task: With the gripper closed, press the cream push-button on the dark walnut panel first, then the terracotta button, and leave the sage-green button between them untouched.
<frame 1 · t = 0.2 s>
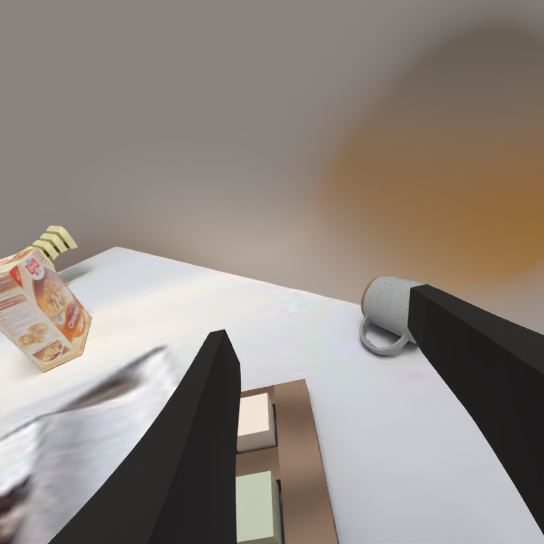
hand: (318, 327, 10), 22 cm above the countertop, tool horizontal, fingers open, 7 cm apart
slatted lounge chair: (41, 294, 83), on the countertop
ceramic mug: (395, 332, 36), on the countertop
coffeecake box: (71, 342, 54), on the countertop
cream button: (253, 422, 26), point 4 cm above the countertop, slide at 0.0 cm
sage button: (252, 512, 20), point 4 cm above the countertop, slide at 0.0 cm
button panel: (264, 527, 21), on the countertop
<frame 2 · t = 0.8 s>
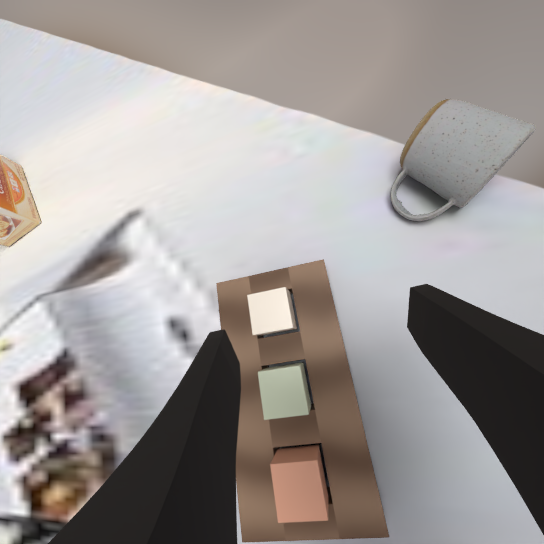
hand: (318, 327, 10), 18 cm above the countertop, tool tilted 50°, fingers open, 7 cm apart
ceramic mug: (434, 186, 28), on the countertop
coffeecake box: (17, 204, 43), on the countertop
cream button: (272, 312, 25), point 4 cm above the countertop, slide at 0.0 cm
sage button: (285, 389, 23), point 4 cm above the countertop, slide at 0.0 cm
button panel: (290, 382, 26), on the countertop
terracotta button: (300, 480, 21), point 4 cm above the countertop, slide at 0.0 cm
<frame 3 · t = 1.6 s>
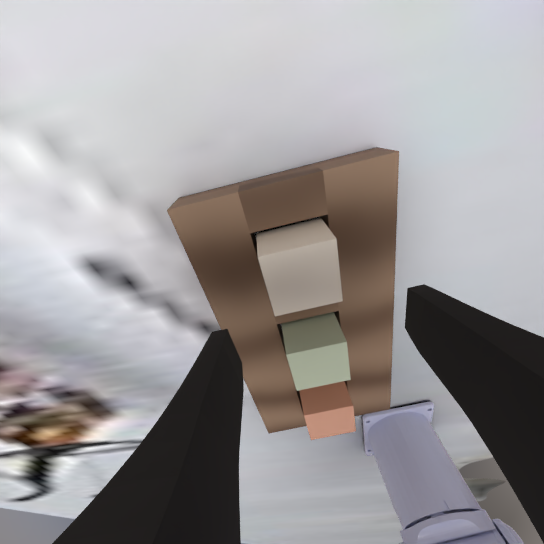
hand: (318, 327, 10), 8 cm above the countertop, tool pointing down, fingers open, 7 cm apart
cream button: (298, 266, 14), point 3 cm above the countertop, slide at 0.0 cm
sage button: (315, 350, 18), point 4 cm above the countertop, slide at 0.0 cm
button panel: (305, 317, 21), on the countertop
terracotta button: (326, 405, 21), point 4 cm above the countertop, slide at 0.0 cm
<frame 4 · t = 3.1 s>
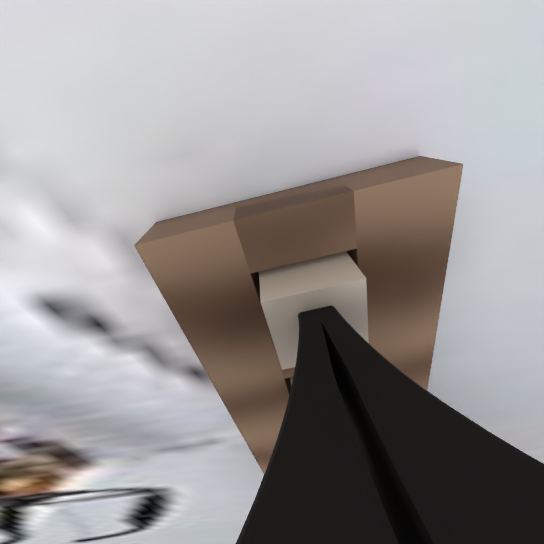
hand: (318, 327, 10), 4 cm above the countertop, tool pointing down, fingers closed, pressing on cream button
cream button: (311, 305, 11), point 3 cm above the countertop, slide at 0.8 cm, touching gripper
sage button: (332, 410, 14), point 3 cm above the countertop, slide at 0.0 cm
button panel: (318, 359, 17), on the countertop
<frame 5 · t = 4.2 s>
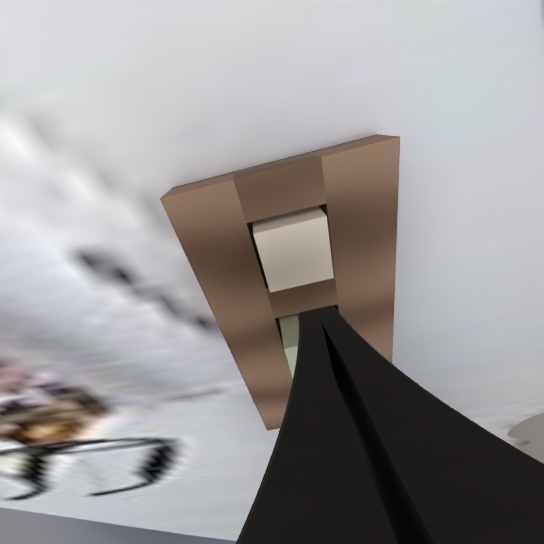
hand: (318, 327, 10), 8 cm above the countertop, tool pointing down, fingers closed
cream button: (292, 245, 15), point 2 cm above the countertop, slide at 1.5 cm
sage button: (313, 344, 17), point 3 cm above the countertop, slide at 0.0 cm
button panel: (304, 311, 20), on the countertop
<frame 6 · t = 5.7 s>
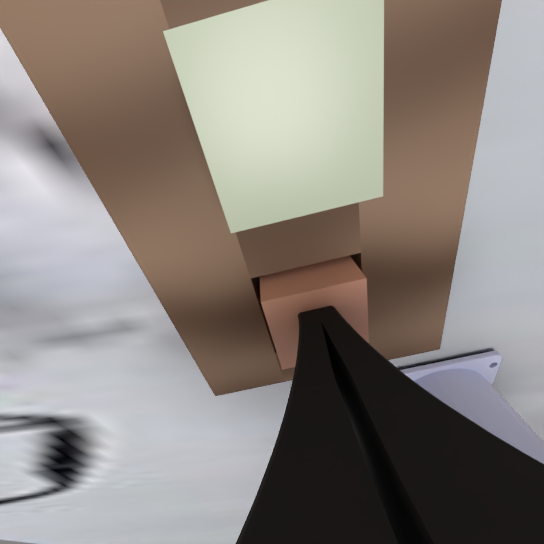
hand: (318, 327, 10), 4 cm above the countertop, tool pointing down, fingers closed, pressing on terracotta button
sage button: (283, 127, 6), point 3 cm above the countertop, slide at 0.0 cm
button panel: (273, 126, 9), on the countertop
terracotta button: (311, 305, 11), point 2 cm above the countertop, slide at 1.2 cm, touching gripper
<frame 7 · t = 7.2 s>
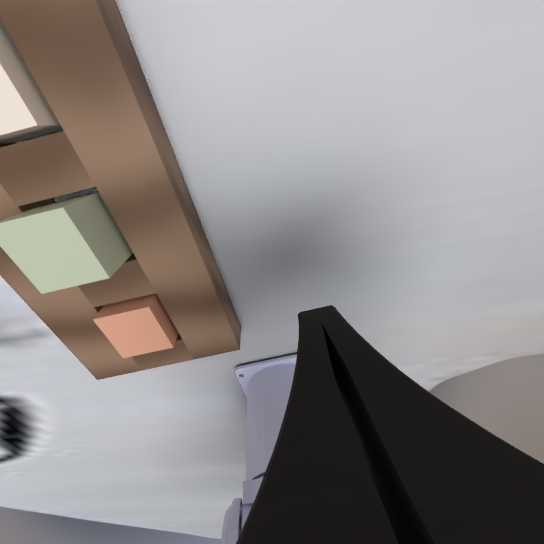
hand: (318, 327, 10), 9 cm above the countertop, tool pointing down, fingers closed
sage button: (70, 242, 13), point 3 cm above the countertop, slide at 0.0 cm
button panel: (103, 220, 16), on the countertop
terracotta button: (143, 319, 18), point 2 cm above the countertop, slide at 1.5 cm
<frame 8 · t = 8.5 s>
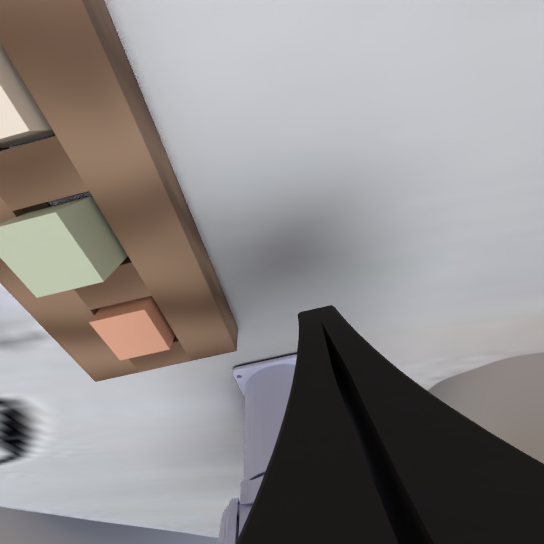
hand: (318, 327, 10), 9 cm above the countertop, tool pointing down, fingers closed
sage button: (65, 245, 13), point 3 cm above the countertop, slide at 0.0 cm
button panel: (99, 223, 16), on the countertop
terracotta button: (139, 321, 18), point 2 cm above the countertop, slide at 1.5 cm
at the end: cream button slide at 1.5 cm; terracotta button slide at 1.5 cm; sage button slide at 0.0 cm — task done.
